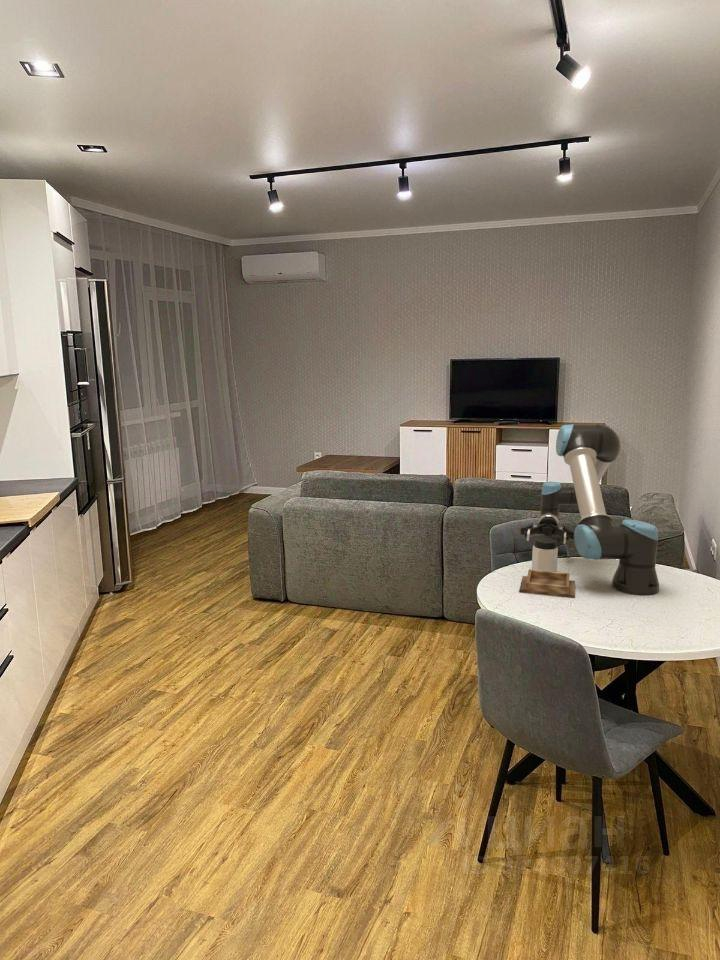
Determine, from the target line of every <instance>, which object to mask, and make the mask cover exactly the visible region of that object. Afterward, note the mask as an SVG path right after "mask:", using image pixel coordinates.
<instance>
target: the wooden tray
mask: <svg viewBox="0 0 720 960" xmlns="http://www.w3.org/2000/svg"><path fill="white" fill-rule="evenodd" d="M518 592H519V593H522V594H532V593H534V595H541V594H542V596H551V595H552V596H551V597H554V596H555V597H561V598H562V597H563V598H564V597H565V598H571V599H572V598H573V599H575V598H576V580H570V573H567V572H558V571H557V572H548V571H538V570H532V569H528V571H527V575H522V576H521V582H520V585H519V589H518Z"/></svg>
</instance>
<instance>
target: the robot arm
mask: <svg viewBox="0 0 720 960" xmlns="http://www.w3.org/2000/svg"><path fill="white" fill-rule="evenodd" d="M555 441H556V442H555V451H556V455H557V456H558V457H562V458H563V460H564V463H565V464H567V465H568V466H569V469H570V473H571V478H572V483H573V486H562V484H561V483H560V482H558V481H545V482H543V483H542V487H541V499H540V500H541V501H540V503H541V504H540V506H541V507H540V514H539V516H540V517H539V521H538V524H537V525H535V524H534V523H532V522H531V523H530V524H529V525H525V526H523V527H521V528H520V535H521V536H522V535H524V538H526V541H527V542H528V541H530V538H531V535H537V534H538V535H541V534H542V535H544V536H545V537H551V536H558V537H561V538H563V544H564V545H566V543H567V541H569V540H573V541H574V546H575V549H576V551H577V553H578V554H579V556H580V557H582V558H583V559H586V560H595V561H597V560H618V561H619V562H618V565H617V568H616V570H615V572H614V574H613V577H612V580H611V586H612V588H614V589H616V590H618V591H621V592H623V593H627V594H631V595H638V596H639V595H641V596H643V595H644V596H646V595H647V596H648V595H654V594H656V593H658V592H659V591H660V581H659V578H658V573H657V570H656V564H657V563H656V562H657V555H658V554H657V553H658V545H659V542H658V541H659V529H658V528H657V526H656V525H654V524H652V523H649V522H646V521H643V520H642V521H641V520H637V519H630V518H629V519H628V518H627V519H623V520H622V522H621V524H614V522H613V518H612V516H611V515H609V514H607V511H606V508H605V504H604V499H603V495H602V491H601V486H600V481H601V480H602V478H603V477H604V475H605V473H606V471H607V470H608V468H609V466H610V465H611V463H612V462H614V461H616V459H617V457H618V456H619V454H620V452H621V441H620V438H619V435H618V434H617V433H616V431H614V429H613V428H611V427H610V426H607V425H604V424H574V423H572V424H563V425H562V426H560V428H559V430H558V432H557V436H556V440H555ZM560 506H577V507H578V510H579V511H578V512H579V515H580V520H578V523H577V525H576V527H575V529H574V531H572V530H570V529H569V528H568V527H567V526H563V525H562V526H561V527H560V526H559V521H560V520H559V519H560Z"/></svg>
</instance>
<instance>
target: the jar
mask: <svg viewBox="0 0 720 960" xmlns="http://www.w3.org/2000/svg"><path fill="white" fill-rule="evenodd" d="M558 552H559V547H558V540H557V539H556V538H553V537H550V536H540V537H535V538H534V544H533V545H532V553H531V555H532V557H531V570H538V571H548V572H558V571H557V570H558V554H559V553H558Z"/></svg>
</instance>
